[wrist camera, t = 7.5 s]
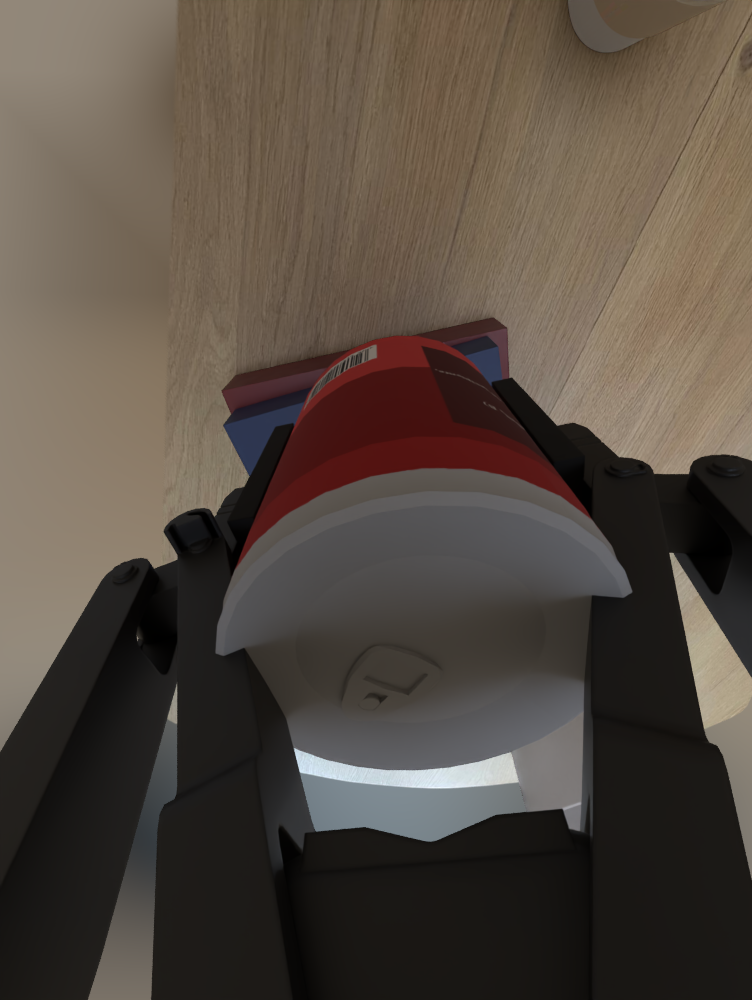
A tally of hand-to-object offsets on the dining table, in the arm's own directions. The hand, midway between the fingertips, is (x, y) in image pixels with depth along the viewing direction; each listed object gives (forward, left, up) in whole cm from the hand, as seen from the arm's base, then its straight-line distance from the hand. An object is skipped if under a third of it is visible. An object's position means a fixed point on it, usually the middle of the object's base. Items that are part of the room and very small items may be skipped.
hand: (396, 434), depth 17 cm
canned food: (0, 0, 0) cm, 0 cm away
